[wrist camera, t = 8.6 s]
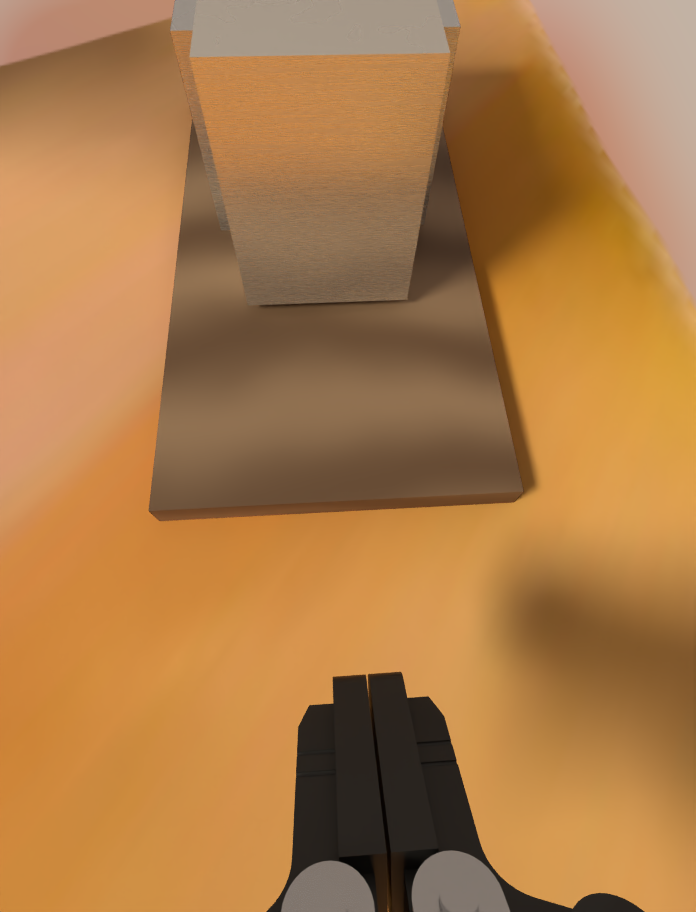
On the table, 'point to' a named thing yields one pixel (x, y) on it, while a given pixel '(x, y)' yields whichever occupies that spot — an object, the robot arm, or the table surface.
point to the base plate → (328, 384)
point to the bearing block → (182, 45)
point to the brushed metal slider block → (321, 139)
